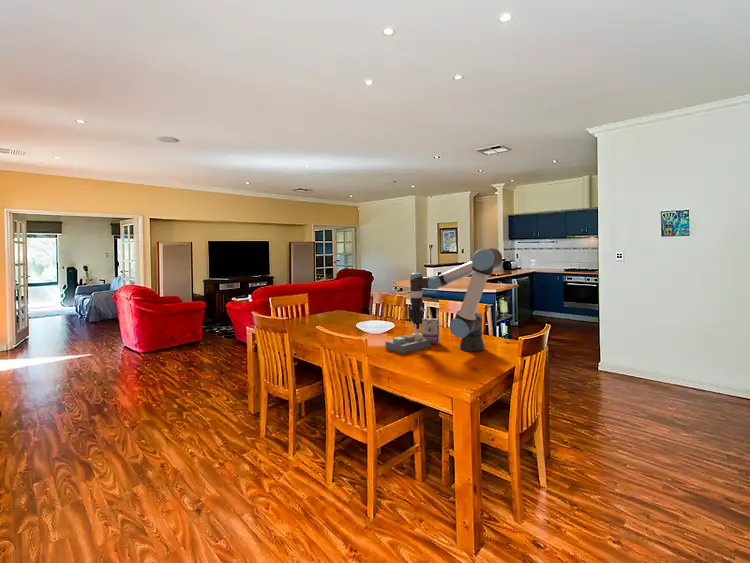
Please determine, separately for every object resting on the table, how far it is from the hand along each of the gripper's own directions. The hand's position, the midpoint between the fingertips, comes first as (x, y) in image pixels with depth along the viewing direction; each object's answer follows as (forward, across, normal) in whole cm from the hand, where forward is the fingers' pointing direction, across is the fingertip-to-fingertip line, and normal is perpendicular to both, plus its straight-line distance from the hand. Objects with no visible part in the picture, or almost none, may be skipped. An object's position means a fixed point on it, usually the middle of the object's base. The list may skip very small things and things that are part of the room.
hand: (416, 333), depth 259 cm
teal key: (+5, 0, +15) cm, 16 cm away
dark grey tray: (+8, 0, +8) cm, 11 cm away
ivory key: (+5, 0, 0) cm, 5 cm away
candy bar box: (+8, -1, -12) cm, 14 cm away
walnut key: (+5, 0, +8) cm, 9 cm away
